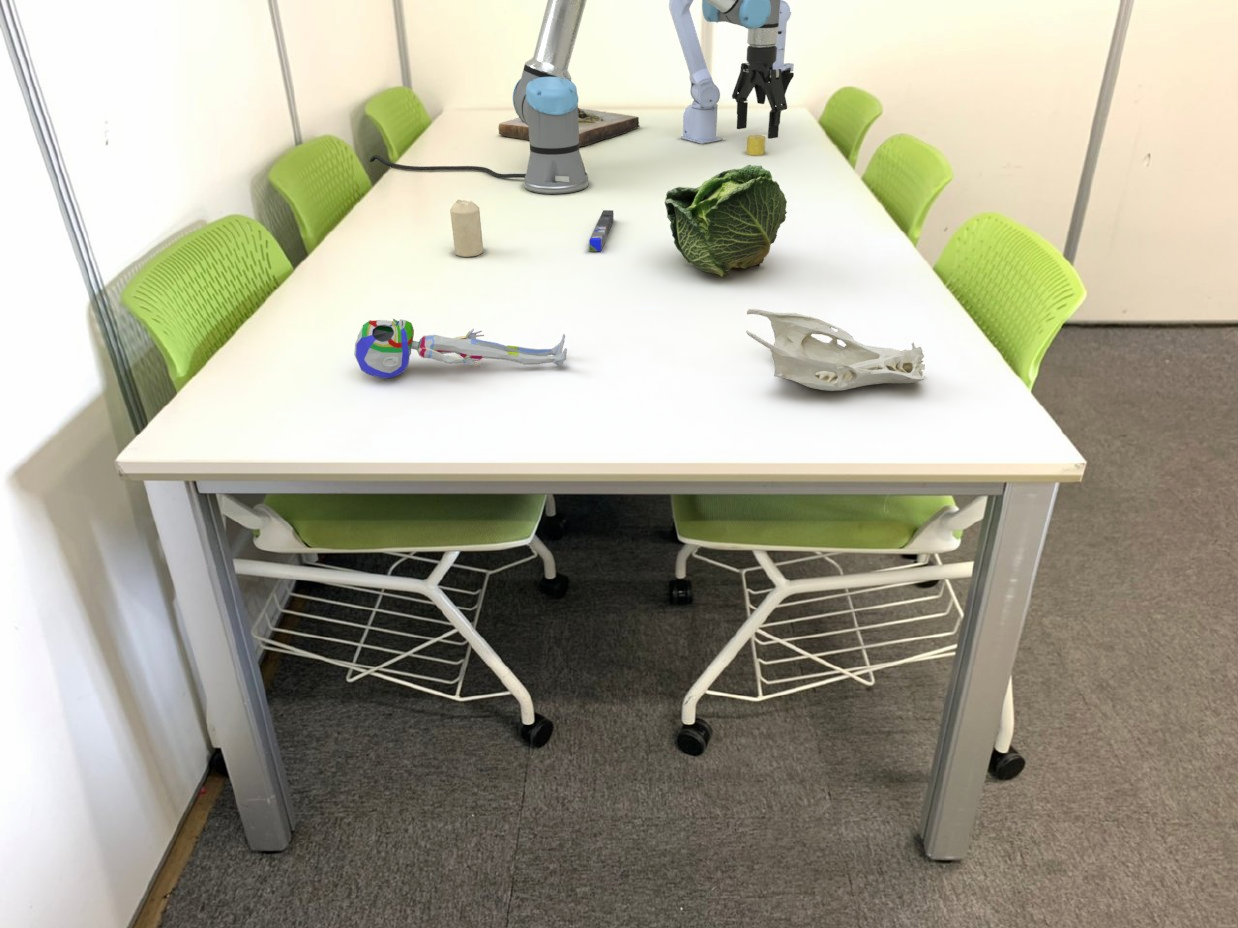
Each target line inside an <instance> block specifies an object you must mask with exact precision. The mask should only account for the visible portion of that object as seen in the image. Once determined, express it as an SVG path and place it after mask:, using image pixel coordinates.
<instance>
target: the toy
mask: <svg viewBox="0 0 1238 928" xmlns="http://www.w3.org/2000/svg"><path fill="white" fill-rule="evenodd" d="M474 331H475V328H472V329H471V330H469V331H468V332H467V333H466V334H465V335H463V336H458V337H449V336H448V337H447V336H442V335H439V334H428V335H423V336H421V338H420V339H419V341H417V340H414V336H415V329H414V326H413V324H412V322H410V321H408V320H407V319H399V320H397V319H395V318H392V320H387V319H379V320H368V321H367V322H365V323H364V324H362V326H361V329H360V331H359V333H358V334H357V338H356V340H355V342H354V354H353V355H354V357H355V359H356V362H357V364H358V366H359V369H360V370H361V372H364V373H366V374H367V375H370V376H373V377H377V378H382V379H383V378H384V379H392V378H394V377H396V376H398V375H400V374H401V375H402V374H403V372H404V371H405V370H406V368H407V367H408V366H409V364H410V357H411V355H412V350H415V351H417V353H418V356H419V357H421V358H422V359H430V360H434V361H438V362H442V363H444V364H449V365H458V364H459V365H461V364H465V365H471V366H477V367H479V368H480V367H481V366H482V365H483V363H482V362H478V361H480V360H482V359H487V360H488V359H489V360H503V361H509V362H514V363H517V364H520V365H528V366H529V365H542V364H550V363H553V364H555V365H557V366H559V367H562V366H563V364H564V362H565V361H566V360H567V357H568V355H567V353H568V348H566V347H565V348H564V345H565V340H566V334H565V333H563V334H562V338H561V340H560V341H559V343H558V344H556V345H555V346H554V347H552V348H533V347H532V348H531V347H523V346H518V345H517V346H516V345H504V344H501V343H498V342H494V341H488V340H482V339H478V338H479V337H480V338H481V337H485V334H480V333H482V332H483V331H482V330H479V331H476V332H474ZM563 349H564V350H563ZM453 353H455V354H457V355H459V357H458V356H455V355H448V354H453ZM445 354H447V355H445Z"/></svg>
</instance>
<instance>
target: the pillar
mask: <svg viewBox="0 0 1238 928" xmlns="http://www.w3.org/2000/svg"><path fill="white" fill-rule="evenodd" d="M614 216H615V215H614V210H613V209H612V210H611V209H602V212H601V214H600V216H599V219H598V221H597V222H596V225H595V227H594V229H593V231H592V234H591V236H590V237H589V241H588V243H589V244H588V245H589V246H588V247H589V248H588V250H589V252H601V251H602V249H603V247H604V245H605V242H606V239H607V237H608V235H609V232H610V231H611V228H612V226H613V223H614Z"/></svg>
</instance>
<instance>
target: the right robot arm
mask: <svg viewBox="0 0 1238 928" xmlns="http://www.w3.org/2000/svg"><path fill="white" fill-rule="evenodd" d="M693 2H694V0H669V1H668V9H669V12H670V15H671V19H672V22H673V25H674V29H675V32H676V35H677V38H678V41H679V45H680V47H681V50H682V54H683V57H684V60H685V63H686V66H687V69H688V73H689V82H690V89H689V90H690V91H689V92H690V96H691V98H692V99H693V101H692V103H691V104H689V105H688V106H686V108H685V109H684V111H683V116H682V118H683V119H682V136H681V135H680V139H681V140H684V141H685V140H686V141H689V142H692V143H693V142H694V143H697V144H702V145H704V144H709V143H713V142H718V141H719V142H720V141H722V140H723V139H724V138H723V137H721V136H717V130H718V129H717V127H718V103H719V101H720V98H721V91H720V88H719V87H718V85H716V84H715V83H714V81H713V78H712V75H711V73H710V71H709V69H708V66H707V63H706V59H705V55H704V54H703V50H702V46H701V44H700V40H699V37H698V33H697V30H696V26H695V24H694V21H693V16H692V13H691V11H690V8H691V5H692V4H693ZM791 15H792V11H791V8H790V5H789V3H788V2H786V1H785V0H781V1H780V12H779V26H778V40H777V44H775V46H776V47H777V57H776V61H775V62H774V63H773V69H781V79H782V84H783V89H784V93H785V94H786V93H787V90H788V87H789V85H790V84H791V81H792V80H793V78H794V74H795V73H794V66H795V65H794V63H790V62H787V63H786V62H785V54H786V53H785V51H786V39H787V24H788V21H789V20H790V18H791ZM768 83H769V82H768ZM753 89H754V91H755V96H756V102H757V104H760V105H764V104H765V103H766V99H767V96H766V93H765V91H764V89H763V88H762V87H761V86H759V85H757V84H756V85H755V86H754V88H753Z"/></svg>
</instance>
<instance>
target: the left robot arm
mask: <svg viewBox="0 0 1238 928" xmlns="http://www.w3.org/2000/svg"><path fill="white" fill-rule="evenodd" d="M780 1H781V0H702V1H701V3H702V4H701V12H702V15H703V19H704V20H705V21H706V22H708V23H717V24H718V23H721V22H723V23H729V24H733V25H737V26H740V27H743V28H745V29H747V37H746V39H747V40H746V43H747V44H748V46H747V48H746V62H742V63H741V64H740V71H739V74H738V77H737V80H736V83H735V85H734V89H733V91H732V93H731V99H733V100H735V102H736V130H743V129H747V123H748V105H749V102H748V98H749V96H750V94H751V93H752V91H753V90H754V89H755V88H754V86H755V85H756V84H757V85H759V86H761V87H762V88H763V89H764V91H765V93H766V99H767V102H768V103H769V106H770V110H769V113H768V114H769V115H768V129H767V139H768V140H769V139H770V140H773V139H777V138H779V131H780V130H779V128H780V124H781V115H782V114H781V113H782V112H783V111H785V110H788V104H787V103H788V102H787V98H786V93H784V89H783V84H782V79H781V69H773V63H774V62H775V61H776V57H777V47H776V46H775V44H777V40H778V26H779V12H780ZM586 4H587V0H547V2H546V6H545V9H544V12H543V13H544V14H543V18H542V22H541V25H540V29H539V34H538V37H537V41H536V45H535V49H534V53H533V56H532V58H530V59H528V60H527V61H525V62H524V66H523V68H522V69H523V70H522V74H521V77H520V79H518V81H517V82H516V83H515V86H514V88H513V92H512V106H513V108H514V111H515V114H516V115H517V116H518V118H520V119H521V120H522V121H523V122H524V123H525V124H527V125H528V127H529V140H528V142H529V157H528V162H527V168H526V172H525V173H499V172H496V171H494V170H492V169H490V168H489V167H484V166H477V165H439V166H438V165H437V166H436V165H433V166H416V165H415V166H414V165H405V164H400V163H399V164H398V163H394V162H389V161H387V160H385V159H384V158H383V157H382V156H380V155H376V154H375V155H373V156H371V157H370V159H369V162H370V163H373V162H375V160H377V161H379V162H380V163H382V164H383V165H385V166H387V167H391V168H396V169H400V170H406V171H407V170H409V171H479V172H485V173H488V174H490V175H491V176H493V177H494V178H499V179H500V178H501V179H524V180H523V183H524V188H525V189H526V190H527V191H530V192H531V193H535V194H536V193H537V194H543V195H544V194H545V195H562V194H570V193H576V192H579V191H583V190H584V189H586V188H587V187H589V175H588V173H587V171H586V168H585V164H584V161H583V158H582V156H581V153H580V147H579V123H578V108H579V95H578V89H577V86H576V84H575V83H574V82H573V81H572V80H573V79H572V76H571V73H570V72H569V67H570V62H571V59H572V55H573V52H574V48H575V44H576V40H577V37H578V34H579V29H580V25H581V23H582V18H583V15H584V12H585V8H586ZM768 82H769V83H768Z"/></svg>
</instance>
